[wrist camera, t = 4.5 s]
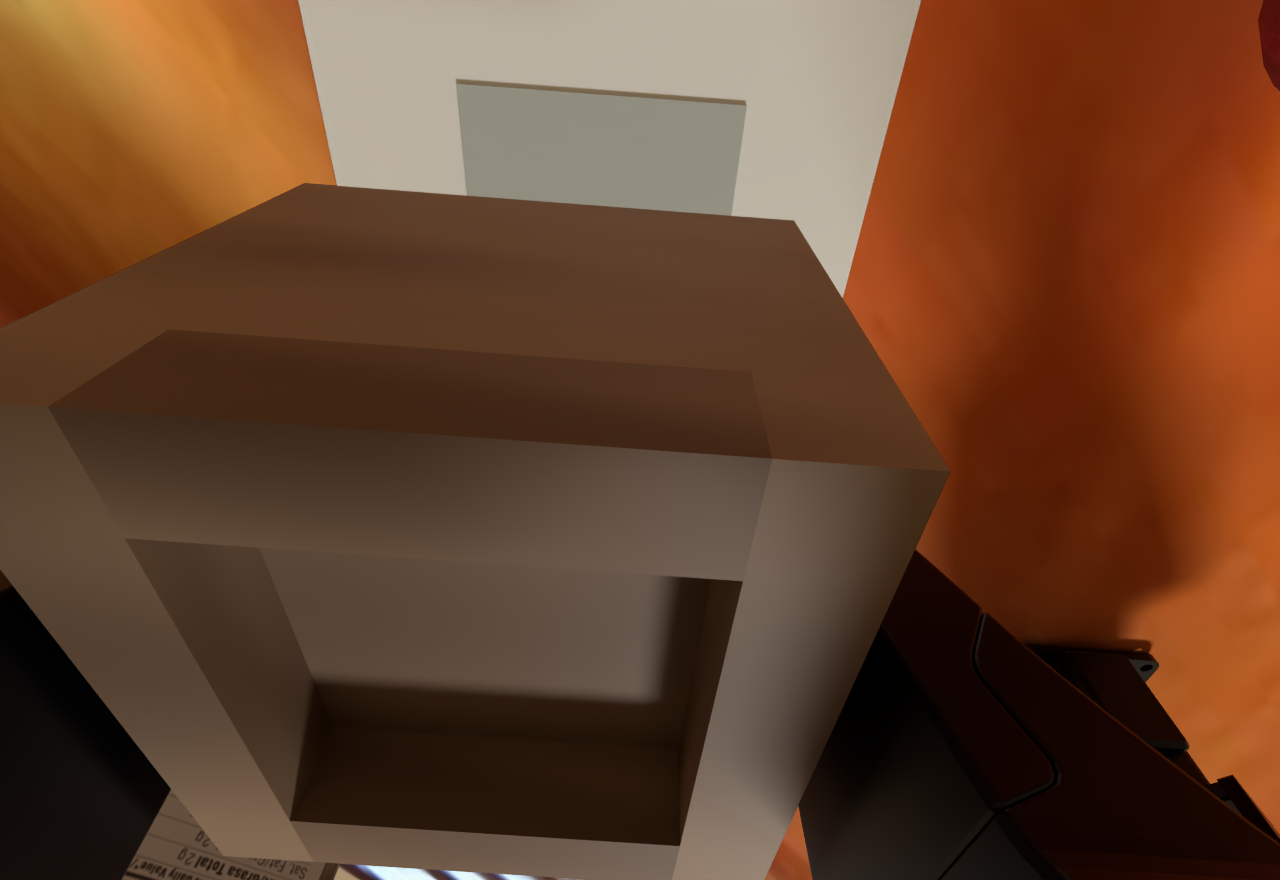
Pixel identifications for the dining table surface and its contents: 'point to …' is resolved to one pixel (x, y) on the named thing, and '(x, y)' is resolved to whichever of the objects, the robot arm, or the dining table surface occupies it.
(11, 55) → the dining table surface
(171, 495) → the cup brick
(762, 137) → the build plate
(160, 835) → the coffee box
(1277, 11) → the onion
